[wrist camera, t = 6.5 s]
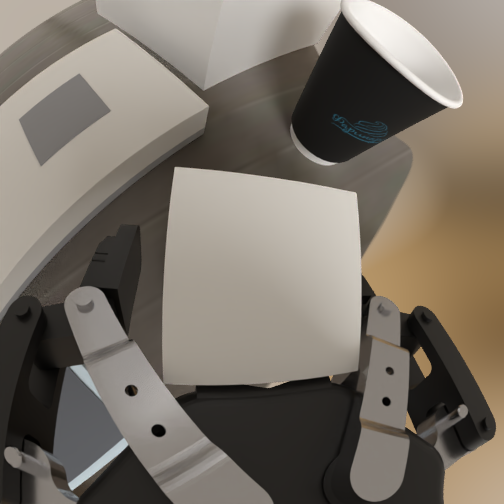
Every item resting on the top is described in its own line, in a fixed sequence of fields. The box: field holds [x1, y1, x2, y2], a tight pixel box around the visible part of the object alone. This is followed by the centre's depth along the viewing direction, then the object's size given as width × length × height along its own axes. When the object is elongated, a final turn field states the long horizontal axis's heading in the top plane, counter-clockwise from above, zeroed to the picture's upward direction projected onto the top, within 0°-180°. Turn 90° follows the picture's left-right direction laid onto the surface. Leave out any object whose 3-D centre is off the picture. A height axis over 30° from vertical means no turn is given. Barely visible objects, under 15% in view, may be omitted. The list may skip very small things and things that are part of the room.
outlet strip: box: [0, 29, 209, 321], centre depth 11 cm, size 24×12×3 cm, turn 134°
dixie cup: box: [290, 0, 463, 165], centre depth 14 cm, size 8×8×11 cm
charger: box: [162, 167, 361, 385], centre depth 10 cm, size 5×4×10 cm
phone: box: [53, 364, 128, 490], centre depth 11 cm, size 14×7×1 cm, turn 136°
